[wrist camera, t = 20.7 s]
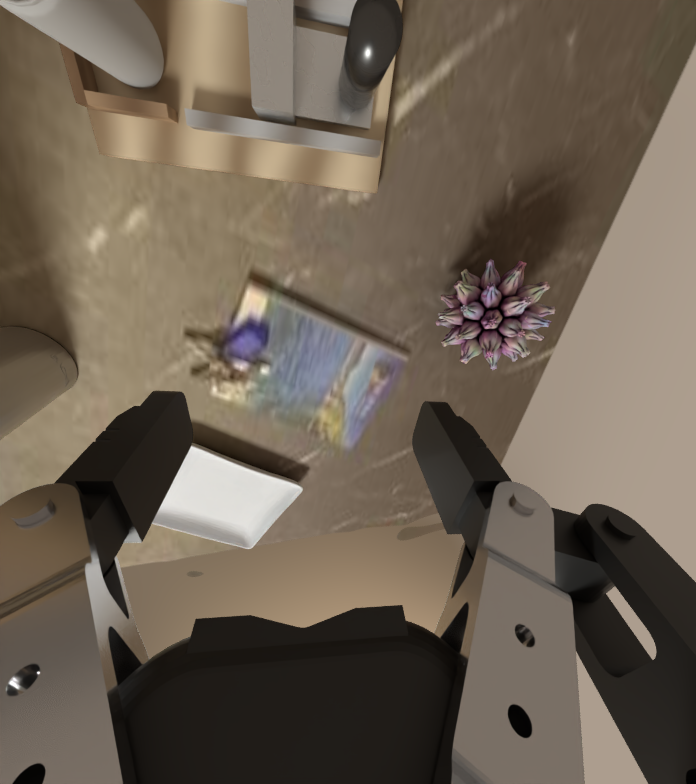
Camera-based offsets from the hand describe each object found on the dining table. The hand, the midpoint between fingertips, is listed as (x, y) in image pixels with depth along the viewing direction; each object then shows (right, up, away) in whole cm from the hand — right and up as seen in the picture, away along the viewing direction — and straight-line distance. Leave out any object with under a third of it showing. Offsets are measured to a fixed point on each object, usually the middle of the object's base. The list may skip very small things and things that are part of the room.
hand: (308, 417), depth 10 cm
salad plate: (-21, -17, +43) cm, 50 cm away
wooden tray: (-8, +28, +15) cm, 32 cm away
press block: (-1, +27, +14) cm, 30 cm away
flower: (+17, +13, +28) cm, 35 cm away
